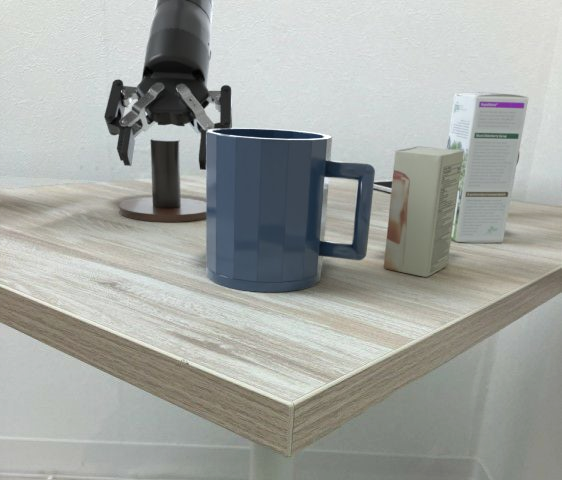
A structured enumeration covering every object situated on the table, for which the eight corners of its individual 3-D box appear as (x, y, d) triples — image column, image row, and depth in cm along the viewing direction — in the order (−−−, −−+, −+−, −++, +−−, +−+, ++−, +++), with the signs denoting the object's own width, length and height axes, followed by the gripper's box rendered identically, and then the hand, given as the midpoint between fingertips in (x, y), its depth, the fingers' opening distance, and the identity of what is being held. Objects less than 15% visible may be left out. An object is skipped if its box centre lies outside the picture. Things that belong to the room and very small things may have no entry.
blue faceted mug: (188, 283, 50) (186, 132, 46) (229, 255, 58) (231, 126, 54) (352, 305, 47) (368, 146, 43) (371, 272, 55) (386, 137, 51)
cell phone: (395, 182, 105) (395, 178, 105) (467, 199, 93) (468, 195, 93) (357, 184, 101) (357, 180, 101) (427, 202, 89) (428, 197, 89)
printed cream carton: (404, 258, 61) (419, 145, 56) (448, 267, 58) (467, 150, 54) (379, 268, 57) (393, 148, 53) (425, 278, 55) (443, 154, 50)
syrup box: (504, 243, 69) (533, 95, 62) (452, 242, 68) (476, 92, 62) (481, 231, 74) (505, 93, 68) (432, 230, 73) (452, 90, 67)
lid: (101, 216, 71) (96, 139, 68) (145, 201, 81) (143, 133, 78) (191, 226, 69) (190, 147, 66) (226, 209, 78) (227, 139, 75)
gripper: (112, 22, 74) (92, 136, 68) (236, 28, 74) (226, 143, 68) (125, 73, 81) (108, 181, 75) (238, 79, 81) (230, 187, 75)
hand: (164, 163), depth 72 cm, fingers open, 8 cm apart
